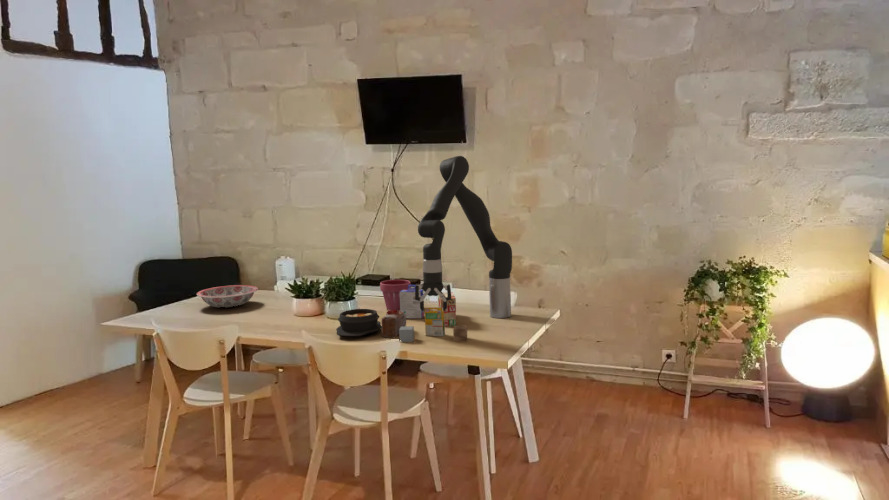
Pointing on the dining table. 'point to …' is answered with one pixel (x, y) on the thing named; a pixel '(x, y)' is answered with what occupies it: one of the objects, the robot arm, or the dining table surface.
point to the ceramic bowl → (227, 295)
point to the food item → (393, 323)
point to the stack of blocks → (448, 310)
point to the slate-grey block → (406, 333)
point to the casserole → (358, 322)
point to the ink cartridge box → (410, 303)
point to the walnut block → (460, 333)
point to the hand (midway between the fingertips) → (433, 310)
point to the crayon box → (434, 322)
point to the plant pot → (393, 292)
